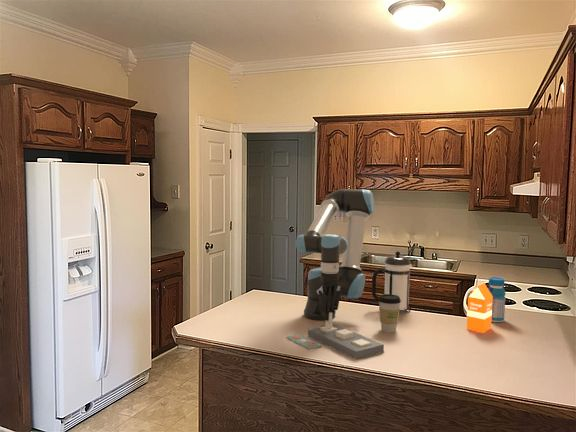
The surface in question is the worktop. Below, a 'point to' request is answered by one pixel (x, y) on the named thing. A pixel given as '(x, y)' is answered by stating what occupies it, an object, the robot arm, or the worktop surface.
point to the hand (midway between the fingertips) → (328, 327)
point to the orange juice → (479, 309)
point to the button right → (361, 343)
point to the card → (303, 342)
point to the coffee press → (395, 279)
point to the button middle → (344, 334)
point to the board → (346, 343)
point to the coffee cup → (389, 311)
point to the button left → (328, 329)
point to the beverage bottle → (497, 298)
